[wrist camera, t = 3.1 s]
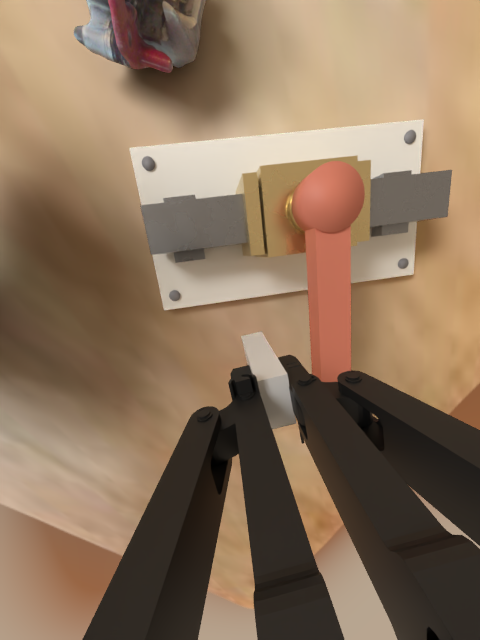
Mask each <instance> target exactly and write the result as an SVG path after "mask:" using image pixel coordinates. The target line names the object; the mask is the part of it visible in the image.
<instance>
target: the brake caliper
mask: <svg viewBox="0 0 480 640" xmlns="http://www.w3.org/2000/svg"><path fill="white" fill-rule="evenodd" d="M86 1H87V4H88V7H89V11H90V16H91V20H90V22H89V23H88V24H87V25H84V26H77V27H76V28H75V29H74V35H75V37H76V39H77V40H78V41H79V42H80V43H82V44H83V45H84V46H86V48H87V49H89V50H90V51H91V52H93V53H95V54H98V55H100V56H103V57H105V58H106V59H108V60H111V61H113V62H116V63H119V64H122V65H125V66H127V67H129V68H132V69H142V68H148V67H151V68H155V69H157V70H160V71H163V72H167V73H170V72H171V71H172V70H173V66H175V67H178V68H180V67H182V66H184V65H185V64H188V63H190V62H193V61H194V59H195V58H196V55H197V51H198V46H199V41H200V30H201V20H202V14H203V10H204V6H205V2H206V0H86Z"/></svg>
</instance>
